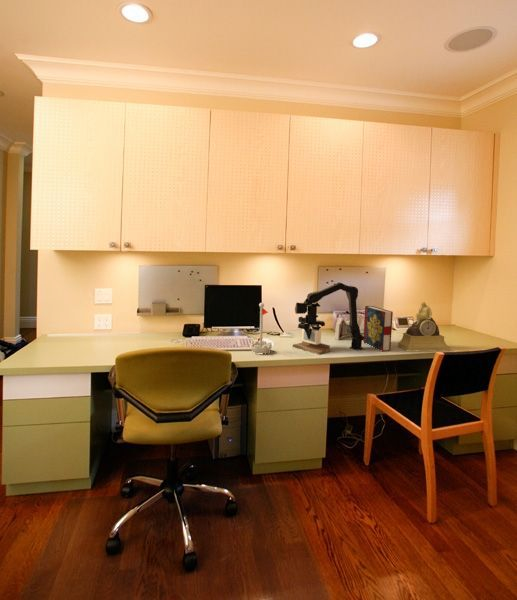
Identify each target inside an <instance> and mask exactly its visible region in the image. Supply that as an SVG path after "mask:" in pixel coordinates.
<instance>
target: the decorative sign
mask: <svg viewBox="0 0 517 600" xmlns="http://www.w3.org/2000/svg"><path fill="white" fill-rule="evenodd" d="M336 321H337V322H336V323H335V330H334V332H335V333H334V341H340V340H341V339H342V338H344V337H345V338H346V337H351V336H350V335H349V333H348V332H347V325H349V324H350V320H346V321H345V319H344V318H342V317H339V318H338V319H337V320H336Z"/></svg>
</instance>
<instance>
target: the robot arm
mask: <svg viewBox="0 0 517 600" xmlns="http://www.w3.org/2000/svg"><path fill="white" fill-rule="evenodd" d="M340 290H341V291H342V292H343V291H344V292H345V295H346V298H347V300H348V310H349V311H348V313H349V321H350V324H349V325H347V332H348V333H349V335H351V336H350V338H351V345H350V347H349V349H351V348H353V349H352V350H355V349H360V350H363V349H362V348H363V347H362V345H363V339H364V336H363V335H362V333H361V328H360V326H359V324H358V311H357V300H358V297H359V295H358V294H359V289H358V287H356V286H353V285H346V284H344V283H342V282H337V283H334V284H332V285H331V286H328V287H326V288H324V289H321V290H318V291H313V292H310V293H308V294H307V295H306V299H305V300H304V301H303V302H296V303H295V307H294V312H295V314H296V315H299V314H301V315H303V314H305V317H303V316H299V317H298V322H299V323H298V325H297V328H298V329H301V330H302V329H304V330H305V332H306V334H307V337H308V339H310V336H311V331H312V329H315V330H319V331H320V329H321V328H322V327H325V326H326V322H325V321H324V320H319V319H317V318H319V315H318V307H321V305H320V304H319V301H321V300H322V299H323V298H324V297H326V296H328V295H331V294H333V293H335V292H338V291H340ZM306 313H307V314H306Z"/></svg>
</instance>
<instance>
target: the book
mask: <svg viewBox="0 0 517 600" xmlns="http://www.w3.org/2000/svg"><path fill="white" fill-rule="evenodd" d="M393 315H394V312H393V311H391V310H387V309H385V308H381V307H376V306H373V305H366V306H364V319H363V321H364V322H363V335H362V336H363V337H364V339H363V340H362V343H363V342H364V343H363V344H365V343H367V344H369V345H371V346H370V347H372V346H373V347H372V348H374V347H375V348H374V349H376V348H377V349H376V350H378V349H379V350H378V351H380V350H382V351H381V352H384V351H388V350H390V351H391V345H392V332H393V331H392V328H393ZM367 344H366V345H367ZM369 345H368V346H369Z"/></svg>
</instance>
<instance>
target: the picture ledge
mask: <svg viewBox="0 0 517 600" xmlns="http://www.w3.org/2000/svg"><path fill="white" fill-rule="evenodd" d="M294 347H295V349H297V350H301V349H302V350H301V351H304V352H308V351H309V353H312V354H315V353H316V355H322V353H323V354H326V352H327V353H330V352H331V348H330V347H331V346H330V345H329V344H326V343H321V344H317V345H316V344H312V343H308V342H304V341H302V340H301V342H299V343H294V344H292V348H294Z"/></svg>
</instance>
